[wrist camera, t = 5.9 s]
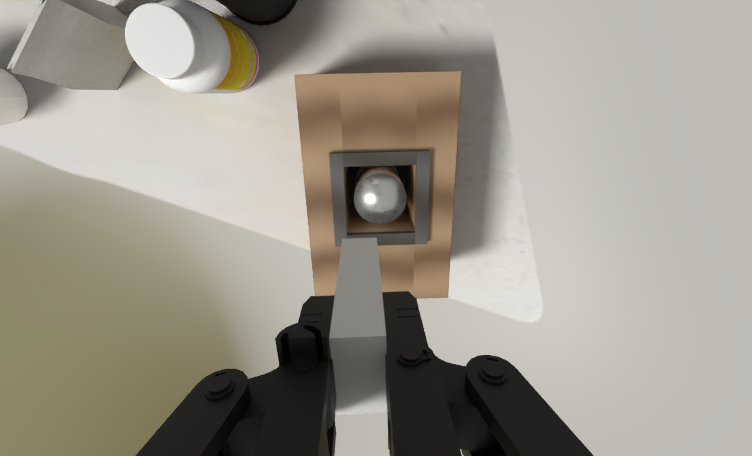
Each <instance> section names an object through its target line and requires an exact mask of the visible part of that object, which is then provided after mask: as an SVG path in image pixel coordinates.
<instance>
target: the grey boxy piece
mask: <svg viewBox="0 0 752 456" xmlns="http://www.w3.org/2000/svg"><path fill="white" fill-rule="evenodd" d="M127 20H128V17H127V16H125V15H124V14H123V13H122V12H120V11H119V10H118V9H117V8H116V7H114V6H111V5H108V4H105V3H103V2H100V1H97V0H40V2H39V4H38V6H37V8H36V10H35V12H34V14H33V16H32V18H31V20H30V22H29V24H28V26H27V28H26V30H25V32H24V35H23V37H22V39H21V41H20V43H19V45H18V47H17V49H16V51H15V53H14V55H13V57H12V59H11V61H10V63H9V65H8V67H7V69H12V71H11V73H15V74H20V75H24V76H28V77H32V78H36V79H40V80H43V81H46V82H50V83H53V84H57V85H60V86H64V87H67V88H70V89H83V90H117V89H118V87H119V85H120V84H121V82H122V80H123V79H124V77H125V75H126V74H127V72H128V70H129V69H130V67H131V65H132V64H133V62H134V59H133V57H132V56H131V54H130V52H129V50H128V47H127V44H126V39H125V27H126V22H127Z"/></svg>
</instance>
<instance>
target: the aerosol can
mask: <svg viewBox="0 0 752 456" xmlns="http://www.w3.org/2000/svg"><path fill="white" fill-rule="evenodd" d="M216 1H218V2H220V3H221V4H223V5H224V6H226V7H227V8H228V9H229V10H230V11H231V12H232V13H233V14H234V15H236V16H237V17H238V18H240V19H242V20H243V21H245V22H248V23H251V24H255V25H270V24H273V23H276V22H278V21H280V20H282V19H283V18H285V17H286V16H287V15H288V14H289V13H290V12H291V10H292V9H293V7H294V6H295V4H296V2H297V0H216Z"/></svg>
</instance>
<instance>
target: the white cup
mask: <svg viewBox="0 0 752 456" xmlns="http://www.w3.org/2000/svg"><path fill="white" fill-rule="evenodd" d="M27 109H28V99H27V95H26V93H25V91H24V89H23V87H22V85H21V84H20V83H19V82H18V80H17V79H16V78H15V77H14V76H13V75H11V74H10V73H8V72H7V71H5V70H3V69H2V68H0V125H4V124H9V123H15V122H18V121H19V120H21V119H22V118H23V117H25V114H26V112H27Z"/></svg>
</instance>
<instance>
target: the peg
mask: <svg viewBox="0 0 752 456" xmlns="http://www.w3.org/2000/svg"><path fill="white" fill-rule="evenodd" d="M406 201H407V196H406V191H405V188H404V186H403V183H402V181H401V179H400V176H399V174H398V172H397V170H396V168H395V167H394V166H361V167H360V168H359V170H358V172H357V175H356V182H355V192H354V204H355V208H356V210H357V212H358V213H359V215H360V216H361V217H362V218H364V219H365V220H367V221H368V222H371V223H374V224H386V223H389V222H392V221H394V220H395V219H397V218H398V217H399V216H400V215H401V214H402V212H403V210H404V208H405V206H406Z"/></svg>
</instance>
